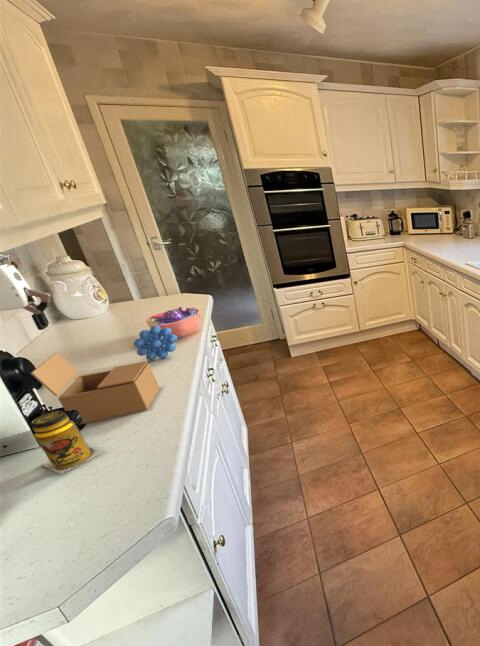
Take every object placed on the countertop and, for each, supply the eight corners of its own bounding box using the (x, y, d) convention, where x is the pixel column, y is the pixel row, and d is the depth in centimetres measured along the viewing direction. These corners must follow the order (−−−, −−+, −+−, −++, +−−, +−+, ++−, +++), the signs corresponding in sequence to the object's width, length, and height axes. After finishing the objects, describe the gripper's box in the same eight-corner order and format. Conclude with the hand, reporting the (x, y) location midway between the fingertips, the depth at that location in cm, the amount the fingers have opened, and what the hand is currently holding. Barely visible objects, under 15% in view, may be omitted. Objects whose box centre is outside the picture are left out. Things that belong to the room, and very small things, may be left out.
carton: (74, 426, 102) (56, 395, 98) (93, 401, 112) (78, 373, 109) (147, 409, 108) (133, 380, 104) (159, 387, 119) (147, 360, 115)
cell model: (208, 322, 169) (199, 297, 164) (204, 338, 153) (194, 311, 148) (158, 331, 161) (147, 305, 156) (149, 349, 145) (136, 320, 140)
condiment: (61, 474, 85) (33, 429, 81) (41, 465, 88) (12, 421, 83) (103, 453, 92) (79, 410, 87) (82, 445, 94) (58, 403, 90)
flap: (57, 395, 98) (55, 396, 98) (79, 373, 109) (77, 374, 109) (32, 372, 95) (30, 373, 94) (57, 352, 105) (55, 352, 105)
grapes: (184, 349, 144) (172, 319, 139) (183, 356, 139) (170, 324, 134) (143, 358, 138) (129, 326, 133) (140, 365, 133) (125, 333, 128)
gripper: (40, 255, 96) (71, 321, 103) (-67, 263, 89) (-27, 333, 95) (24, 261, 90) (58, 330, 97) (-93, 270, 83) (-48, 344, 89)
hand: (16, 331), depth 96 cm, fingers open, 9 cm apart
